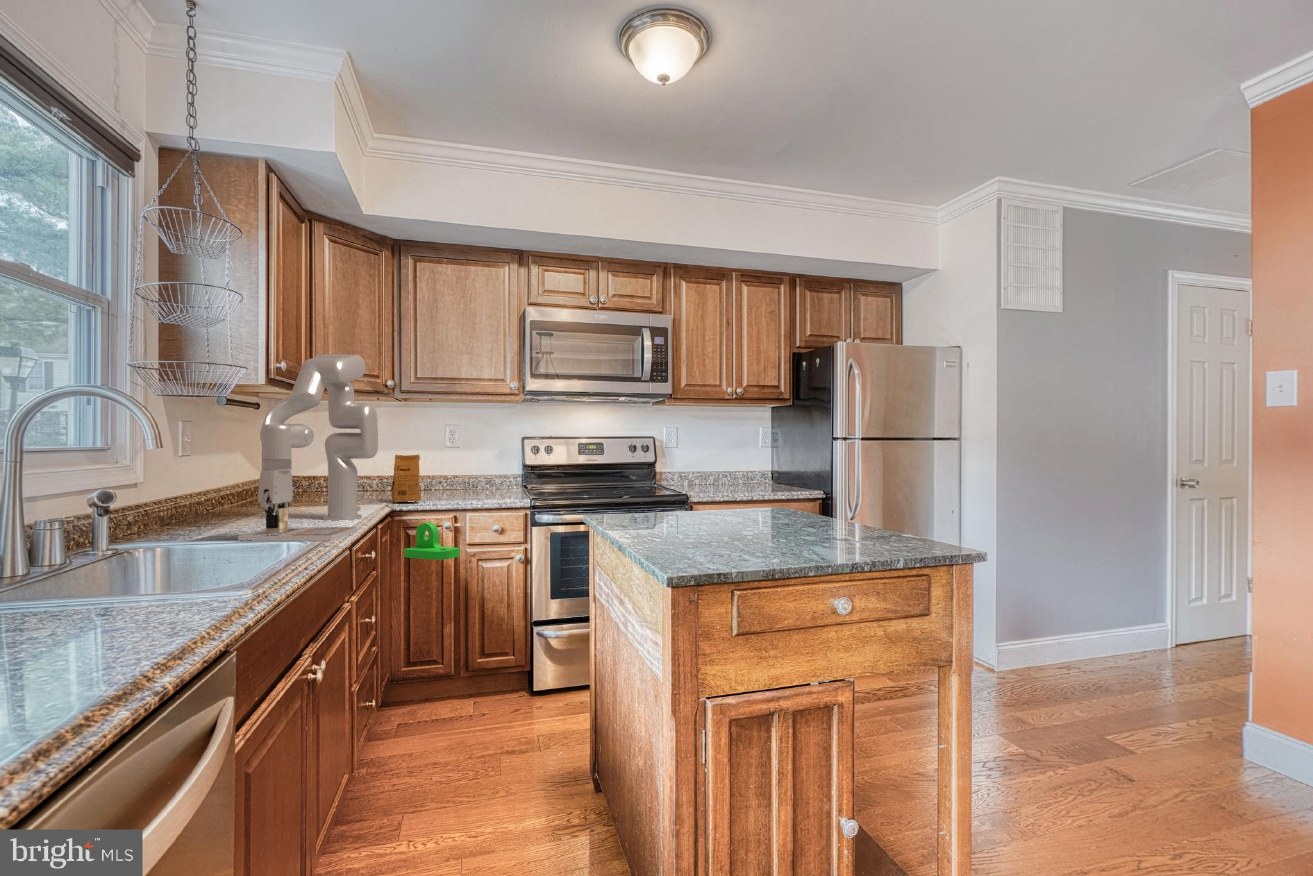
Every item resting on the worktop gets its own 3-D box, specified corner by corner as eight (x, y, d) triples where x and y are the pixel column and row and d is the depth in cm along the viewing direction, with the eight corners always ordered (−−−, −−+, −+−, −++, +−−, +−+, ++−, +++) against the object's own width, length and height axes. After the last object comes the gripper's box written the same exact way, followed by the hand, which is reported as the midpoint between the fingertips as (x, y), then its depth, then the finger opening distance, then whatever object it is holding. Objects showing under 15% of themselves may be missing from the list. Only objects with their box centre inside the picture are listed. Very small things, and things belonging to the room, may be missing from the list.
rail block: (272, 532, 185) (272, 527, 185) (357, 532, 186) (357, 526, 186) (237, 541, 169) (237, 535, 169) (331, 540, 170) (331, 534, 170)
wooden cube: (274, 531, 180) (274, 508, 179) (287, 531, 180) (287, 507, 180) (265, 533, 176) (265, 509, 175) (279, 533, 176) (279, 509, 176)
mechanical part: (403, 557, 147) (403, 524, 147) (421, 552, 153) (421, 521, 153) (443, 560, 143) (443, 527, 143) (459, 556, 149) (459, 524, 149)
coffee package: (391, 501, 277) (391, 454, 277) (420, 500, 282) (420, 454, 282) (390, 503, 268) (390, 454, 268) (420, 502, 272) (420, 454, 272)
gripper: (280, 464, 186) (281, 522, 186) (245, 467, 169) (245, 531, 169) (305, 464, 186) (305, 522, 186) (272, 467, 169) (272, 531, 169)
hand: (277, 526), depth 178 cm, fingers closed on wooden cube, 4 cm apart
